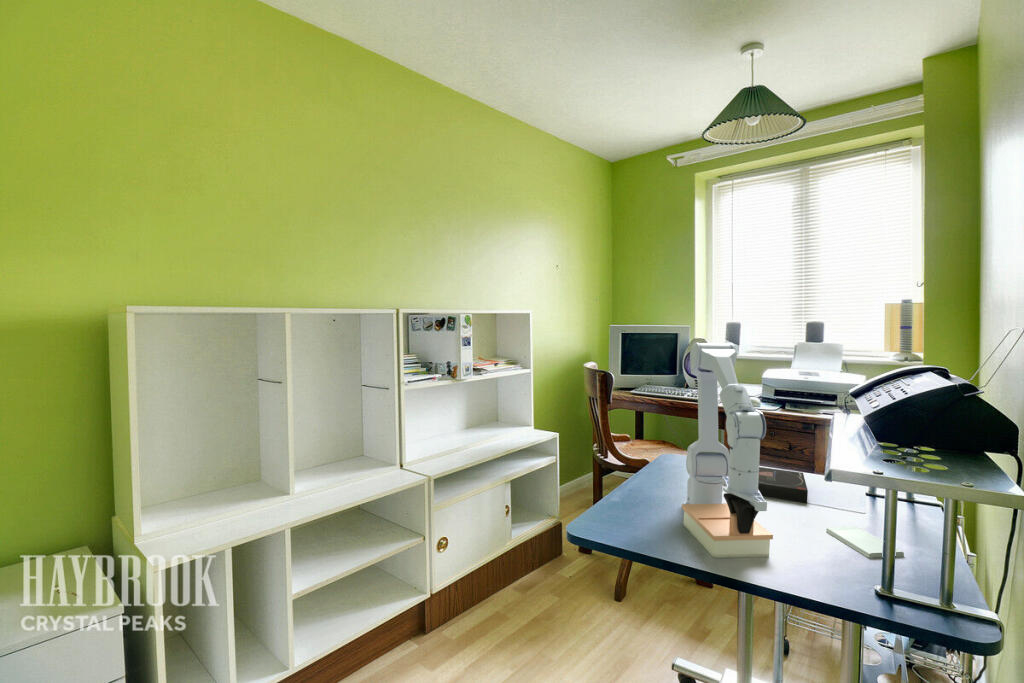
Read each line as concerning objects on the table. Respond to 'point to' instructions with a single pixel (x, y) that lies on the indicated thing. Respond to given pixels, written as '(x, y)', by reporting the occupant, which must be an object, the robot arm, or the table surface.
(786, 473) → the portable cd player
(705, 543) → the tub
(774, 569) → the table surface
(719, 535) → the lid
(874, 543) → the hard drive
